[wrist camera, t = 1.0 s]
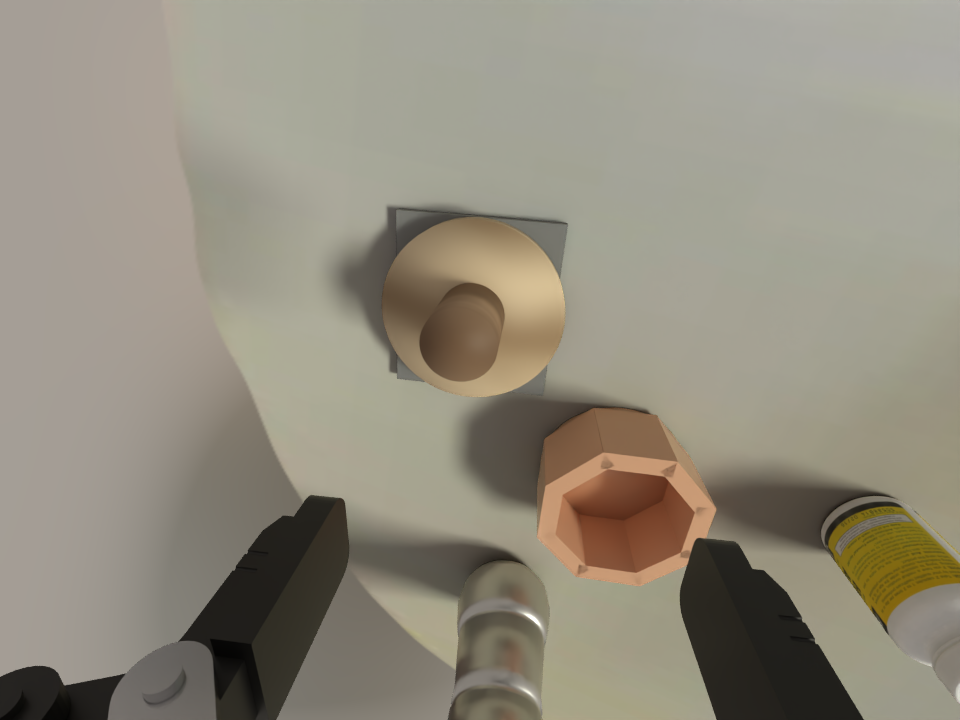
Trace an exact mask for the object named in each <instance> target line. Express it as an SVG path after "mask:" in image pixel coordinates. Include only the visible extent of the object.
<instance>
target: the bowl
mask: <svg viewBox="0 0 960 720" xmlns="http://www.w3.org/2000/svg"><path fill="white" fill-rule="evenodd" d="M716 510H717V509H716V507H715V505H714V503H713V501H712V499H711V497H710V495H709V493H708V491H707V489H706V487H705V485H704V483H703V481H702V479H701V477H700V475H699V473H698V471H697V469H696V467H695V465H694V464H693V462H692V460H691V458H690V456H689V455H688V454H687V452H686V451H685V450H684V449H683V447H682V446H681V445H680V444H679V442H678V441H677V440H676V438H675V437H674V435H673V434H672V432H671V431H670V430H669V429H668V428H667V427H666V426H665V425H664V424H663V423H662V421H661V420H660V419H659V418H658V416H657V415H651V414H645V413H643V412H639V411H636V410H632V409H626V408H615V407H613V408H592V409H591V410H589V411H587V412H584V413H581V414H579V415H577V416H575V417H573V418H571V419H569V420H568V421H566V422H565V423H563V424H562V425H561V426H560V427H559V428H557V429H556V430H555V431H554V433H552V434H551V435H549V436H548V437H546V438H545V439H544V445H543V451H542V456H541V463H540V471H539V477H538V484H537V538H538V539H539V540H540V541H541V542H542V543H543V544H544V545H545V546H546V547H547V548H548V549H549V550H550V551H551V552H552V553H553V554H554V555H555V556H556V557H557V558H558V559H559V560H560V561H561V562H562V563H563V564H564V565H565V566H566V567H567V568H568V569H569V570H570V571H571V572H572V573H573V574H574V575H575V576H576V577H581V578H588V579H595V580H601V581H608V582H615V583H622V584H628V585H635V586H641V585H643V584H646V583H648V582H650V581H652V580H655V579H657V578H659V577H661V576H664V575H666V574H668V573H670V572H673V571H675V570H677V569H679V568H682V567H684V566H686V565H687V564H688V561H689V557H690V554H691V550H692V547H693V544H694V542H695V540H696V539H697V538H706V536H707V534H708V531H709V528H710V526H711V523H712V520H713V518H714V515H715V512H716Z"/></svg>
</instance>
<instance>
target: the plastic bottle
mask: <svg viewBox="0 0 960 720" xmlns="http://www.w3.org/2000/svg"><path fill="white" fill-rule="evenodd" d="M549 617H550V607H549V603H548V598H547V594H546V590H545V587H544V585H543V583H542V581H541V580H540V579H539V578H538V577H537V575H536V574H535V573H534V572H533V571H532V570H531V569H529V568H528V567H526V566H524V565H522V564H520V563H517V562H514V561H507V560H498V561H492V562H489V563H486V564H484V565H482V566H480V567H479V568H478V569H477V570H475V571H474V572H473V573H472V574H471V575H470V576H469V577H468V578H467V580H466V582H465V584H464V587H463V590H462V592H461V595H460V598H459V601H458V617H457V627H458V637H459V638H458V650H457V663H456V676H455V686H454V691H453V696H452V702H451V707H450V711H449V716H448V720H543V719H542V701H541V692H542V677H543V661H544V647H545V643H546V638H547V634H548V626H549Z"/></svg>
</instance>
